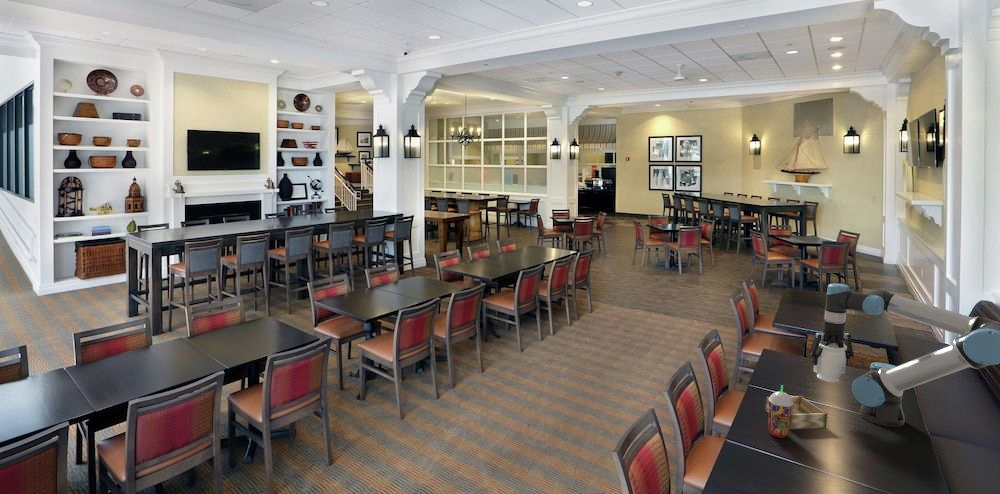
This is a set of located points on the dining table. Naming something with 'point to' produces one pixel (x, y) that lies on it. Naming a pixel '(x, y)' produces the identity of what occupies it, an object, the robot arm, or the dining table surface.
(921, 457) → the dining table surface
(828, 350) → the jar
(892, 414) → the robot arm
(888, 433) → the dining table surface
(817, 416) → the crate
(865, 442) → the dining table surface
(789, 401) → the smoothie
